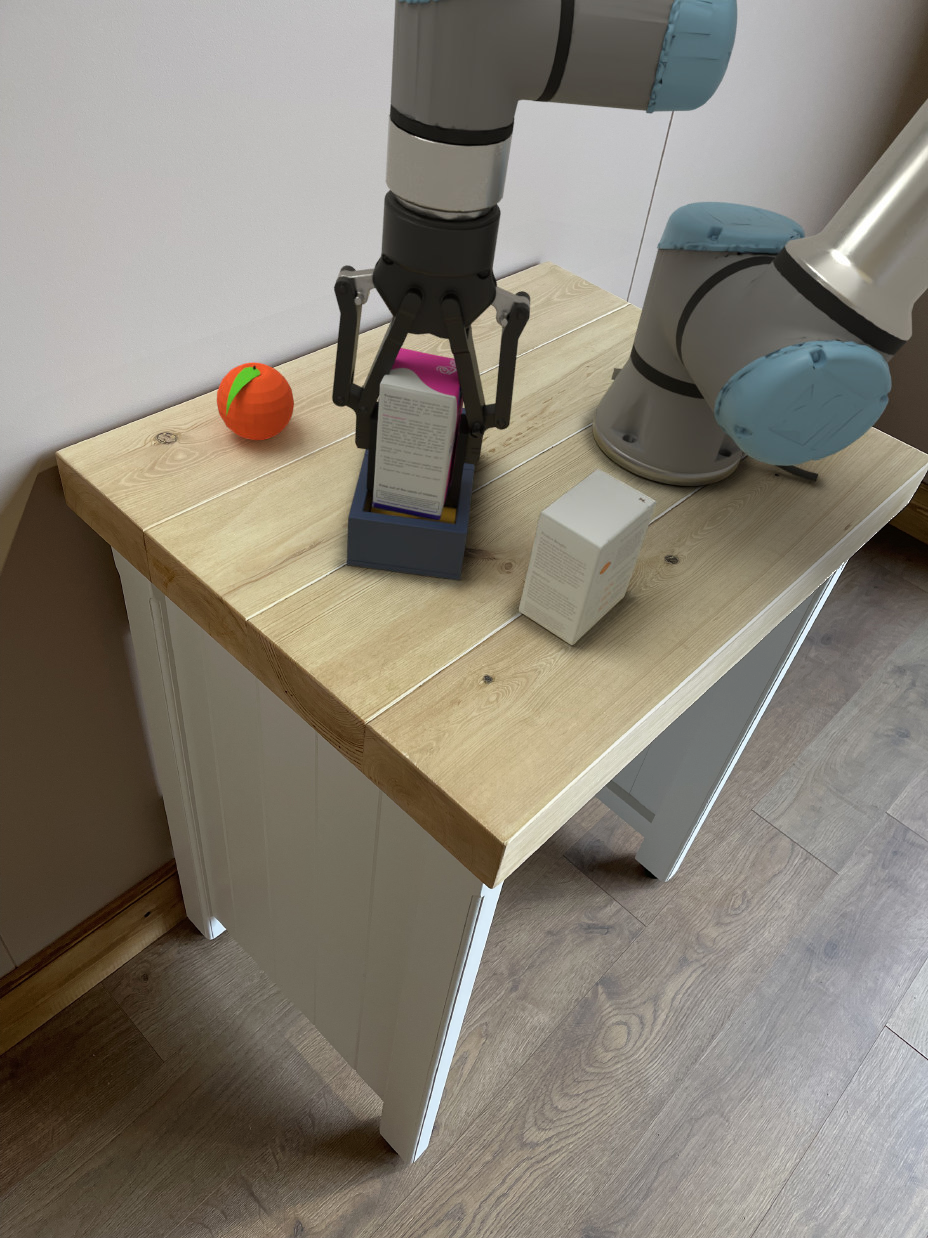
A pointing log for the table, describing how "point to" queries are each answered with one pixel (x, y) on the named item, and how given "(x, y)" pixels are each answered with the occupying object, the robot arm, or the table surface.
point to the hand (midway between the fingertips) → (414, 484)
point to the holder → (409, 533)
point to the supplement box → (417, 434)
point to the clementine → (255, 401)
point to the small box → (584, 554)
